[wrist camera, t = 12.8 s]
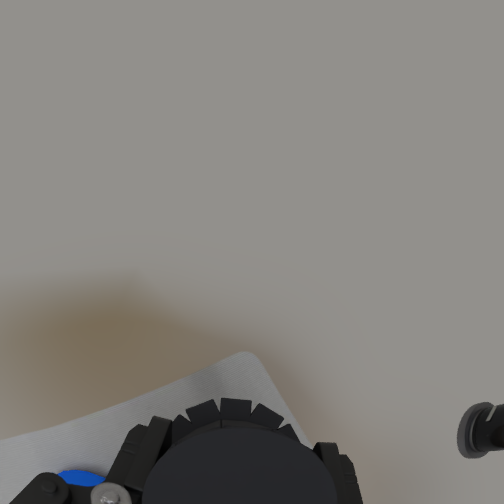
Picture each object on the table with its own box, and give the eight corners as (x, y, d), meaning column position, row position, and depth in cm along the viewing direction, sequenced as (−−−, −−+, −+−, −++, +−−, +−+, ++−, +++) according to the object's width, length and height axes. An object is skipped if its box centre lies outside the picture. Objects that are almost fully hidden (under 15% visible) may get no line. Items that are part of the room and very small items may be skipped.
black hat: (305, 402, 16) (380, 386, 8) (296, 523, 12) (357, 590, 4) (165, 390, 15) (114, 364, 8) (155, 513, 11) (104, 579, 3)
